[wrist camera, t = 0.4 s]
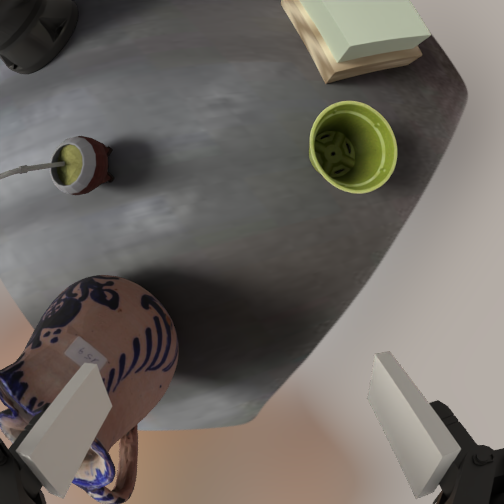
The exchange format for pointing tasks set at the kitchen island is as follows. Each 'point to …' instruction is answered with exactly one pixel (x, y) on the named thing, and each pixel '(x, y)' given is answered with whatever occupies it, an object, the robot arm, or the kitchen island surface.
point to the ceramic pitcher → (110, 367)
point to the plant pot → (353, 147)
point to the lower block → (325, 58)
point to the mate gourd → (75, 165)
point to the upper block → (366, 26)
